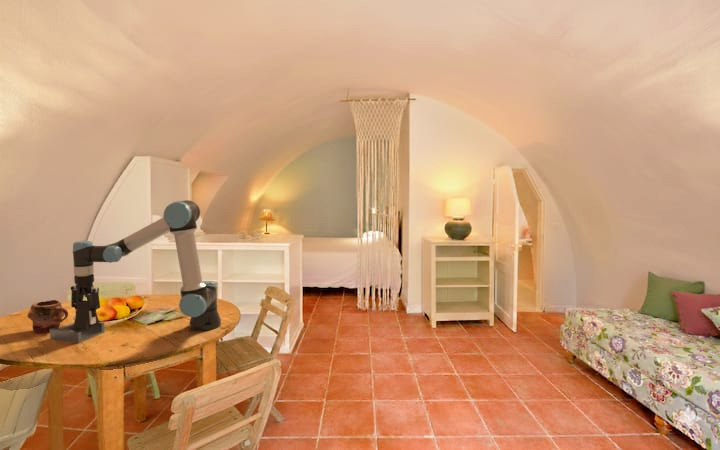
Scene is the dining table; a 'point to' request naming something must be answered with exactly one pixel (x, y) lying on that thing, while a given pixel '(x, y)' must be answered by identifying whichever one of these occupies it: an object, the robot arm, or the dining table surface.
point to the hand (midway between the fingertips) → (86, 322)
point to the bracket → (76, 333)
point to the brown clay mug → (46, 316)
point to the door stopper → (83, 316)
